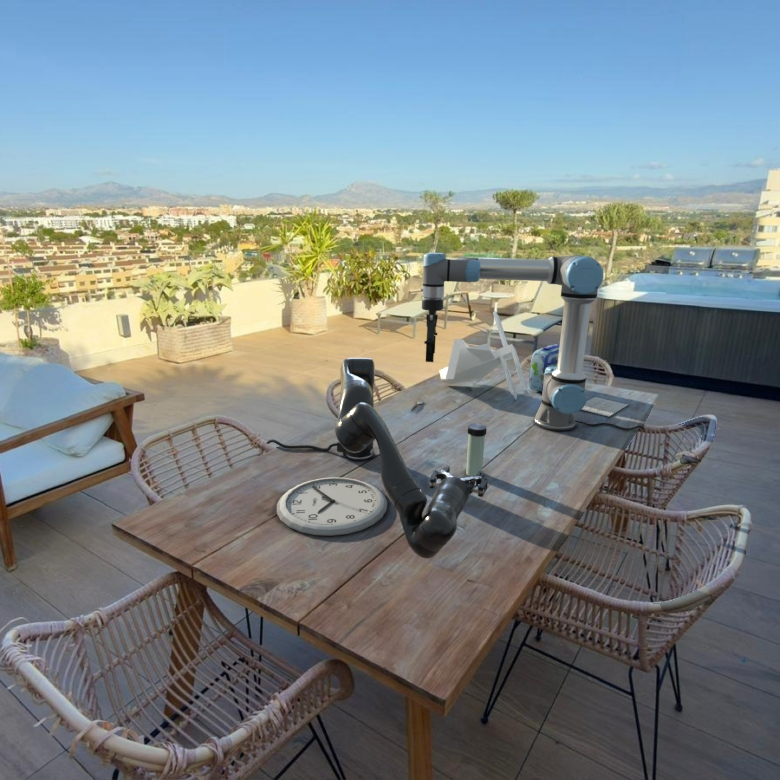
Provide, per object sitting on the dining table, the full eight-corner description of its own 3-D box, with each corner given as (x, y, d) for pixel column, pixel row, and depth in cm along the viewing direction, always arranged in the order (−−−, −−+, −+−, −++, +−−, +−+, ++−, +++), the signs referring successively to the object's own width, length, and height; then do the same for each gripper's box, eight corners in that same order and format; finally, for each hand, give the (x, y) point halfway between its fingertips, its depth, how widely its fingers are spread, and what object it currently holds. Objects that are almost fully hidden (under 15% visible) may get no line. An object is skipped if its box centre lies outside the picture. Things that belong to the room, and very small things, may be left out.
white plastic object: (461, 429, 252) (437, 405, 227) (444, 352, 274) (420, 323, 250) (535, 404, 240) (518, 377, 215) (510, 326, 262) (492, 293, 237)
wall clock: (392, 527, 129) (268, 531, 127) (391, 533, 130) (269, 537, 127) (383, 473, 158) (282, 475, 155) (383, 478, 158) (282, 480, 156)
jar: (483, 477, 160) (486, 431, 156) (467, 477, 160) (470, 430, 156) (480, 470, 165) (483, 425, 161) (465, 470, 165) (468, 425, 160)
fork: (408, 411, 216) (408, 407, 215) (419, 400, 230) (419, 396, 229) (414, 412, 215) (414, 407, 214) (425, 401, 229) (425, 396, 229)
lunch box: (545, 397, 238) (550, 352, 231) (524, 391, 245) (529, 348, 239) (572, 386, 255) (578, 344, 249) (552, 381, 262) (557, 340, 256)
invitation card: (608, 416, 214) (573, 407, 224) (608, 416, 214) (573, 408, 224) (628, 404, 229) (594, 396, 238) (628, 405, 229) (594, 397, 238)
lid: (487, 436, 156) (488, 430, 155) (469, 436, 156) (469, 429, 155) (484, 429, 161) (484, 423, 161) (466, 429, 161) (466, 423, 161)
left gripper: (420, 507, 128) (437, 480, 142) (478, 518, 123) (490, 488, 138) (421, 479, 126) (438, 454, 140) (480, 489, 121) (491, 462, 136)
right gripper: (424, 293, 195) (422, 349, 202) (419, 302, 172) (417, 365, 178) (444, 294, 195) (441, 350, 201) (442, 303, 171) (439, 366, 177)
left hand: (464, 471), depth 139 cm, fingers open, 8 cm apart
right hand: (430, 357), depth 190 cm, fingers open, 13 cm apart
